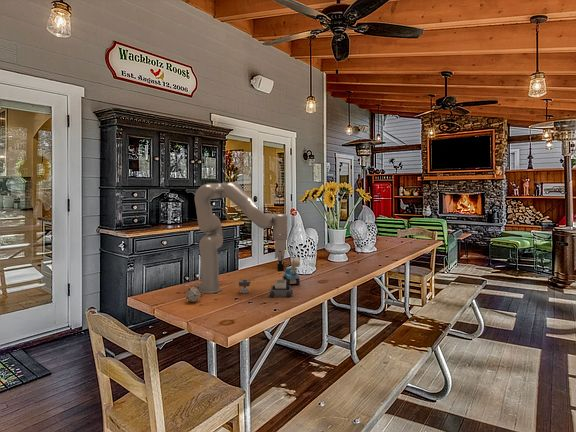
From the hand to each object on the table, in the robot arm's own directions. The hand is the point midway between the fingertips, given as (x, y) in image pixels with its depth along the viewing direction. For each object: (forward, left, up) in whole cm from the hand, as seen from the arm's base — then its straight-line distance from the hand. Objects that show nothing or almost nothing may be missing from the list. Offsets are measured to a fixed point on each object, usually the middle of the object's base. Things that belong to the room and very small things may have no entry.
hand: (280, 270), depth 203 cm
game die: (-44, -14, -13) cm, 48 cm away
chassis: (0, 0, -13) cm, 13 cm away
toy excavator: (+6, +18, -14) cm, 23 cm away
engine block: (0, 0, -12) cm, 12 cm away
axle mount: (-20, +2, -13) cm, 24 cm away
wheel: (-20, +2, -9) cm, 22 cm away
